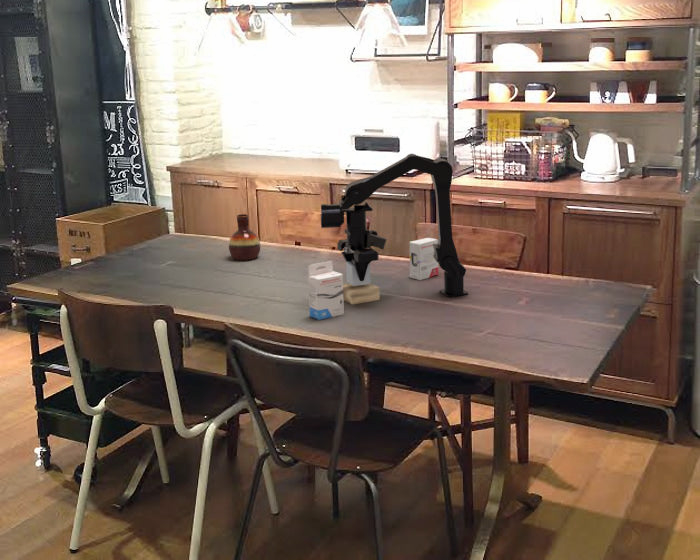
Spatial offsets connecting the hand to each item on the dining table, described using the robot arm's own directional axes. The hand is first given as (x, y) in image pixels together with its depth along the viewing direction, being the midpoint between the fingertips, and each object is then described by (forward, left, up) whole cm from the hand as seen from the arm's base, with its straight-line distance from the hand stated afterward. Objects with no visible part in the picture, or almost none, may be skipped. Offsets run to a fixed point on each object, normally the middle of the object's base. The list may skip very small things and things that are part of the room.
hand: (358, 278), depth 257 cm
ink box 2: (+13, -27, -6) cm, 31 cm away
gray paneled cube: (0, 0, -1) cm, 1 cm away
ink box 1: (-11, +14, -6) cm, 19 cm away
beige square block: (0, 0, -6) cm, 6 cm away
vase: (+64, +19, -6) cm, 67 cm away
